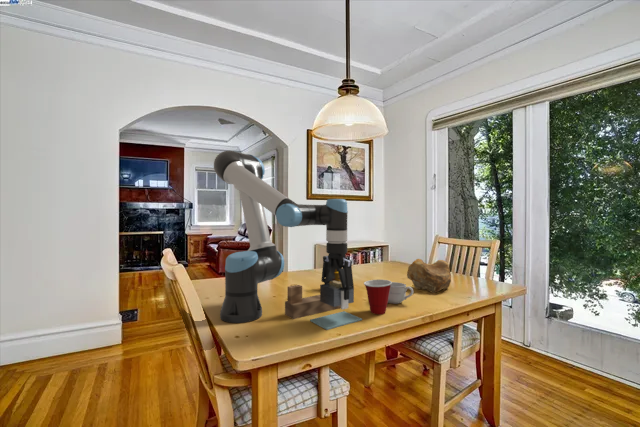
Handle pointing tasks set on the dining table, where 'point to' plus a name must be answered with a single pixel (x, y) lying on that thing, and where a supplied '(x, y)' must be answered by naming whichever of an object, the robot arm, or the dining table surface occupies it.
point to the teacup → (398, 292)
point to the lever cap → (334, 293)
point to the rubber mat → (335, 320)
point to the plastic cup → (378, 295)
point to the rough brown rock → (429, 275)
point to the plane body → (304, 304)
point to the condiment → (336, 276)
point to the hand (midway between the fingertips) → (336, 305)
